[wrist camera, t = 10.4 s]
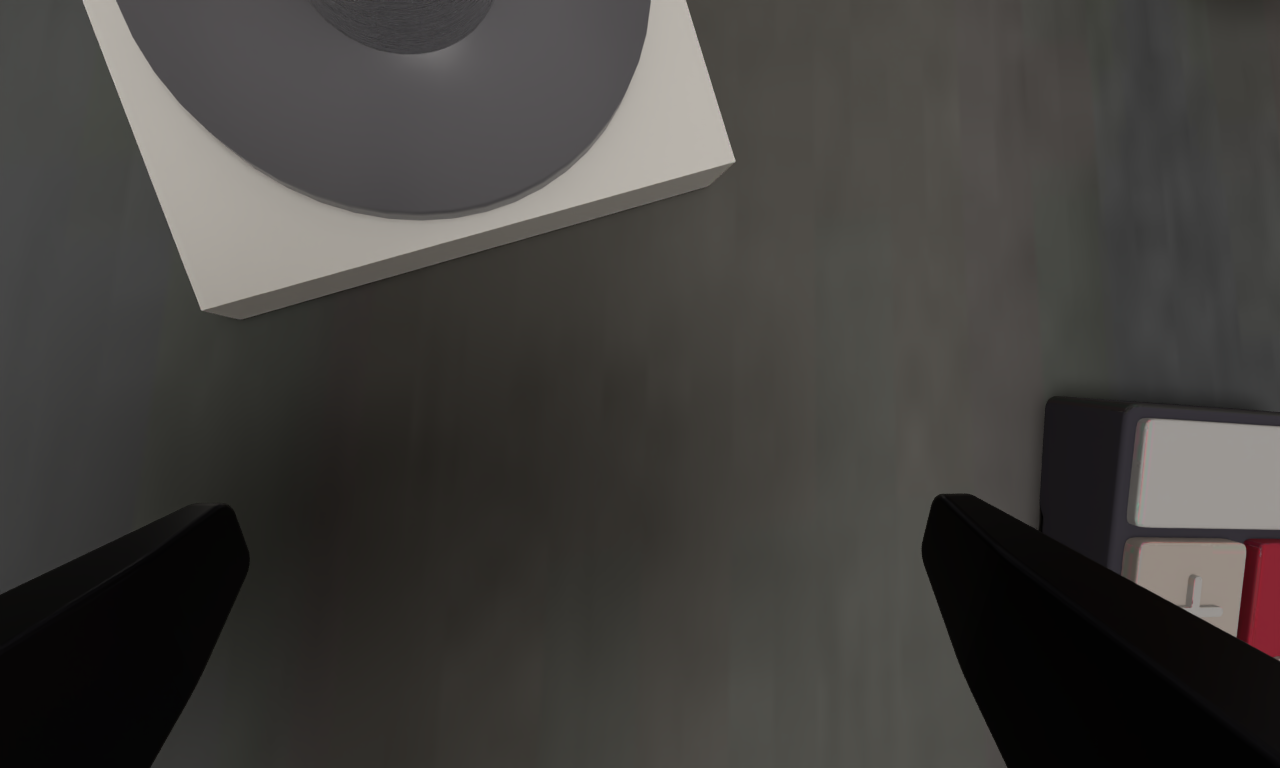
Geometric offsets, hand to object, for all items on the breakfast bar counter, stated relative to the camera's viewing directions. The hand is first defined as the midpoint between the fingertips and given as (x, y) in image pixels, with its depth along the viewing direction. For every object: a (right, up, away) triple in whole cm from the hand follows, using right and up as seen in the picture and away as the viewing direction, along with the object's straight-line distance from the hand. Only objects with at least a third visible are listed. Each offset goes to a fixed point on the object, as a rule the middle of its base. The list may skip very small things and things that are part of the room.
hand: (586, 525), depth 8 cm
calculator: (+21, -6, +18) cm, 29 cm away
